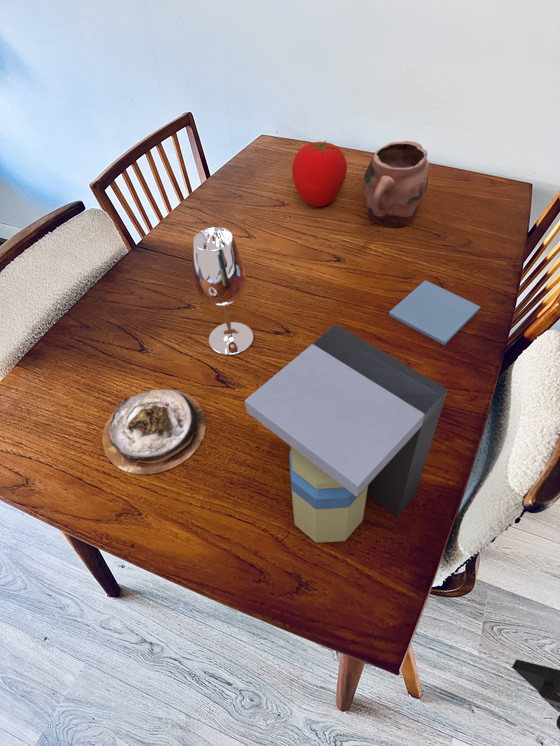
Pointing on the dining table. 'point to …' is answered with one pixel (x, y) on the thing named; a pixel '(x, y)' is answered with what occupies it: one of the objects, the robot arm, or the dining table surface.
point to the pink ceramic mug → (396, 183)
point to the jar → (323, 502)
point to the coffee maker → (354, 415)
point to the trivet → (434, 312)
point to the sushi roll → (153, 431)
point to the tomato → (319, 172)
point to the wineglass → (221, 285)
